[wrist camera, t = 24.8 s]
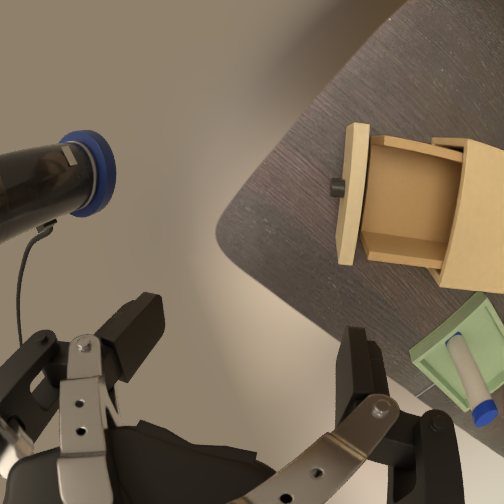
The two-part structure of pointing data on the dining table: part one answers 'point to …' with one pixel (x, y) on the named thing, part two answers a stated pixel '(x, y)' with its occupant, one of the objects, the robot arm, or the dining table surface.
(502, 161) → the cabinet
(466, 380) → the marker
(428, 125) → the dining table surface
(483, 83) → the dining table surface
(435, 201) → the drawer
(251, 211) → the dining table surface
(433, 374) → the tray
